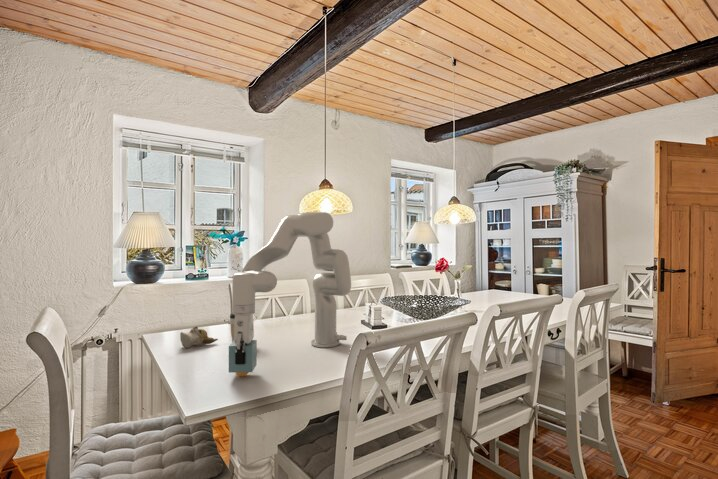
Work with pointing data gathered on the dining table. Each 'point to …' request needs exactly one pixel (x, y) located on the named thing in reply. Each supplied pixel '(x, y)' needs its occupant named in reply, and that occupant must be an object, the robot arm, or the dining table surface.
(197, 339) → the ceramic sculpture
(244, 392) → the dining table surface
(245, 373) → the ball
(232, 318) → the coffee cup
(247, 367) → the pale teal cube
